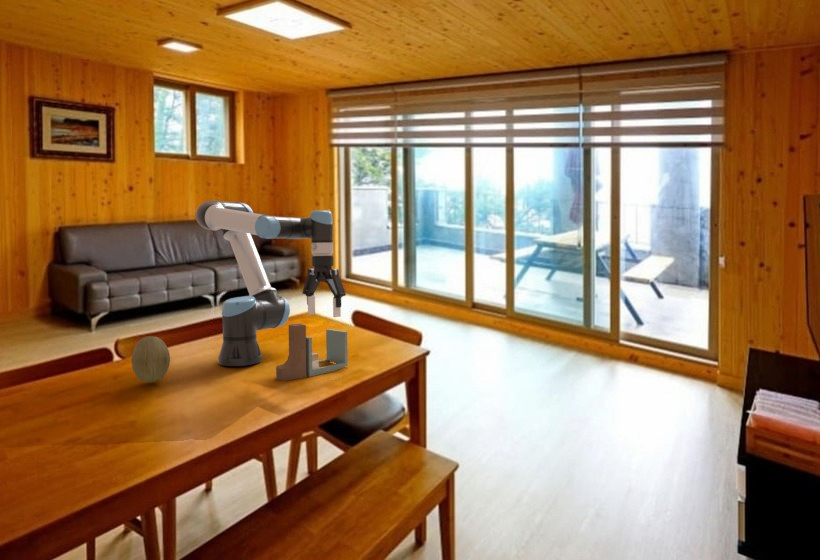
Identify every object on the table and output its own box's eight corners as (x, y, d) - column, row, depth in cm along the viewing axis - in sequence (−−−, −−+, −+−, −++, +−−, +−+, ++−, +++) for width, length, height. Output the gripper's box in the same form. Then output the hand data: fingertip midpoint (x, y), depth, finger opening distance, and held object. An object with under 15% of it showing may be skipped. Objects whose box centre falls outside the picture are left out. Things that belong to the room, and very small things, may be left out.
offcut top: (299, 358, 191) (299, 352, 190) (306, 357, 193) (306, 351, 193) (311, 361, 186) (311, 354, 186) (318, 359, 188) (318, 353, 188)
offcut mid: (299, 365, 191) (299, 358, 191) (306, 364, 193) (306, 357, 193) (311, 368, 186) (311, 361, 186) (318, 366, 189) (318, 359, 188)
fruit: (178, 378, 182) (176, 334, 181) (152, 387, 171) (150, 339, 170) (150, 376, 186) (149, 332, 185) (123, 384, 175) (121, 337, 174)
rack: (291, 372, 190) (290, 335, 189) (329, 364, 203) (328, 329, 202) (309, 376, 183) (308, 338, 183) (347, 367, 196) (347, 331, 196)
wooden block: (281, 382, 178) (280, 327, 176) (275, 379, 182) (275, 325, 180) (306, 378, 183) (306, 325, 182) (301, 375, 187) (300, 323, 185)
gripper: (291, 255, 197) (293, 314, 199) (338, 255, 181) (340, 319, 182) (308, 255, 203) (309, 312, 204) (355, 254, 187) (356, 316, 188)
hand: (324, 315), depth 193 cm, fingers open, 13 cm apart
